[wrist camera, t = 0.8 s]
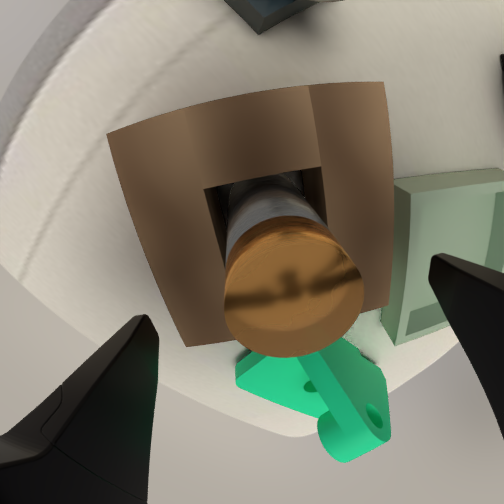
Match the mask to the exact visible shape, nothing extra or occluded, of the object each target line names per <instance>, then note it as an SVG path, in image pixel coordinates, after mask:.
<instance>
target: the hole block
mask: <svg viewBox="0 0 504 504" xmlns="http://www.w3.org/2000/svg"><path fill="white" fill-rule="evenodd" d="M106 135H107V139H108V143H109V146H110V150H111V154H112V157H113V161H114V164H115V168H116V171H117V174H118V178H119V181H120V184H121V187H122V191H123V194H124V197H125V200H126V203H127V206H128V209H129V212H130V215H131V218H132V220H133V223H134V226H135V229H136V232H137V234H138V237H139V240H140V242H141V245H142V248H143V250H144V253H145V256H146V258H147V261H148V263H149V266H150V268H151V271H152V273H153V276H154V278H155V280H156V283H157V285H158V287H159V290H160V292H161V294H162V297H163V299H164V301H165V304H166V306H167V308H168V310H169V313H170V315H171V317H172V319H173V321H174V323H175V326H176V328H177V330H178V332H179V334H180V336H181V338H182V340H183V342H184V344H185V346H186V347H191V346H198V345H206V344H213V343H219V342H226V341H232V340H236V339H235V337H234V336H233V335H232V333H231V332H230V330H229V328H228V326H227V324H226V320H225V316H224V293H225V268H226V246H227V230H226V226H225V222H224V218H223V214H222V210H221V206H220V202H219V198H218V194H217V189H216V186H219V185H224V184H229V183H233V182H238V181H243V180H248V179H252V178H258V177H263V176H268V175H273V174H279V173H284V172H290V171H295V170H302V177H303V184H304V191H305V198H306V200H307V201H308V203H309V204H310V205H311V207H312V208H313V209H314V210H315V212H316V213H317V214H318V216H319V217H320V218H321V219H322V221H323V222H324V223H325V225H326V226H327V227H328V229H329V230H330V231H331V233H332V234H333V235H334V237H335V238H336V239H337V241H338V242H339V243H340V245H341V246H342V247H343V249H344V250H345V252H346V253H347V254H348V256H349V257H350V259H351V260H352V261H353V263H354V264H355V266H356V267H357V269H358V270H359V272H360V274H361V277H362V279H363V284H364V301H363V305H362V308H361V311H360V313H363V312H367V311H370V310H374V309H378V308H381V307H385V306H388V305H389V297H390V287H391V275H392V261H393V241H394V178H393V159H392V145H391V134H390V124H389V116H388V108H387V101H386V94H385V88H384V82H345V83H327V84H315V85H304V86H295V87H287V88H279V89H272V90H266V91H260V92H254V93H248V94H243V95H237V96H232V97H228V98H223V99H218V100H214V101H210V102H206V103H201V104H198V105H194V106H190V107H186V108H182V109H179V110H175V111H172V112H169V113H165V114H162V115H159V116H156V117H152V118H149V119H146V120H143V121H140V122H138V123H135V124H132V125H129V126H126V127H124V128H121V129H118V130H116V131H113V132H110V133H108V134H106Z"/></svg>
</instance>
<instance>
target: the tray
mask: <svg viewBox="0 0 504 504" xmlns="http://www.w3.org/2000/svg"><path fill="white" fill-rule="evenodd" d="M439 253H446V254H449V255H452V256H455V257H458V258H461V259H464V260H467V261H470V262H473V263H476V264H479V265H482V266H485V267H488V268H491V269H493V270H496V271H499V272H502V273H504V171H503V170H501V169H498V168H494V169H481V170H470V171H460V172H450V173H440V174H431V175H423V176H415V177H407V178H399V179H394V241H393V261H392V275H391V287H390V297H389V305H388V306H385V307H382V316H381V323H382V325H383V327H384V328H385V330H386V332H387V333H388V335H389V337H390V339H391V340H392V342H393V344H394V346H397V345H400V344H403V343H406V342H408V341H411V340H414V339H417V338H420V337H422V336H425V335H427V334H430V333H433V332H435V331H438V330H440V329H443V328H445V327H448V326H450V324H449V322H448V320H447V319H446V317H445V315H444V313H443V310H442V308H441V306H440V304H439V302H438V300H437V298H436V296H435V294H434V292H433V290H432V288H431V286H430V284H429V281H428V275H429V268H430V261H431V257H432V256H433V255H435V254H439Z"/></svg>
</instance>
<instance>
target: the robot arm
mask: <svg viewBox="0 0 504 504" xmlns="http://www.w3.org/2000/svg"><path fill="white" fill-rule="evenodd" d="M501 59H502V64H503V70H504V54H502V55H501ZM428 281H429V284H430V286H431V288H432V290H433V292H434V294H435V296H436V298H437V300H438V302H439V304H440V306H441V308H442V310H443V313H444V315H445V317H446V319H447V320H448V322H449V324H450V326H451V328H452V329H453V331H454V333H455V335H456V336H457V338H458V340H459V342H460V343H461V345H462V347H463V349H464V351H465V353H466V355H467V356H468V358H469V360H470V362H471V364H472V366H473V368H474V370H475V372H476V374H477V376H478V378H479V380H480V383H481V385H482V387H483V389H484V391H485V393H486V396H487V398H488V400H489V403H490V405H491V407H492V409H493V412H494V414H495V417H496V419H497V422H498V425H499V427H500V430H501V433H502V436H503V439H504V273H502V272H499V271H496V270H493V269H491V268H488V267H485V266H482V265H479V264H476V263H473V262H470V261H467V260H464V259H461V258H458V257H455V256H452V255H449V254H446V253H439V254H435V255H433V256H432V257H431V261H430V268H429V275H428ZM158 359H159V336H158V333H157V331H156V329H155V327H154V325H153V323H152V321H151V319H150V318H149V316H148V315H146V314H143V315H136V316H134V317H133V318H132V319H131V320H129V321H128V322H127V323H126V324H125V325H124V326H123V327H122V328H121V329H120V330H118V331H117V332H116V333H115V334H114V335H113V336H112V337H111V338H110V339H109V340H108V341H106V342H105V343H104V344H103V345H102V346H101V347H100V348H99V349H98V350H97V351H96V352H95V353H94V354H93V355H91V356H90V357H89V358H88V359H87V360H86V361H85V362H84V363H83V364H82V365H81V366H80V367H79V368H78V369H77V370H76V371H74V372H73V374H71V375H70V376H69V377H68V378H67V379H66V380H65V381H64V382H63V383H62V385H60V386H59V387H58V388H57V389H56V390H55V391H54V392H53V393H51V395H49V396H48V397H47V398H46V399H45V400H44V401H43V402H42V403H41V404H40V405H39V406H37V407H36V408H35V409H34V410H33V411H31V412H30V413H29V414H28V415H27V416H26V417H24V418H23V419H22V420H21V421H20V422H19V423H17V424H16V425H15V426H14V427H13V428H12V429H11V430H9V431H8V432H7V433H5V434H3V435H1V436H0V504H147V496H148V476H149V460H150V448H151V437H152V427H153V418H154V409H155V401H156V393H157V384H158Z"/></svg>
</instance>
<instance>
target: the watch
mask: <svg viewBox="0 0 504 504" xmlns="http://www.w3.org/2000/svg"><path fill="white" fill-rule="evenodd" d="M224 1H225V2H226V3H227V4H228V5H230V6H231V7H232V8H233V9H234V10H235V11H236V12H237V13H238V14H239V15H240V16H241V17H242V18H243V19H244V20H245V21H246V22H247V23H248V24H249V25H250V27H251V28H252V29H253V30H254V31H255V32H256V33H257V34H258V35H259V34H261V33H263V32H264V31H266V30H268V29H269V28H271V27H273V26H274V25H276V24H278V23H280V22H281V21H283V20H285V19H287V18H289V17H291V16H293V15H294V14H296V13H298V12H300V11H302V10H304V9H306V8H308V7H310V6H312V5H314V4H317V3H319V2H336V1H343V0H224Z"/></svg>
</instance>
